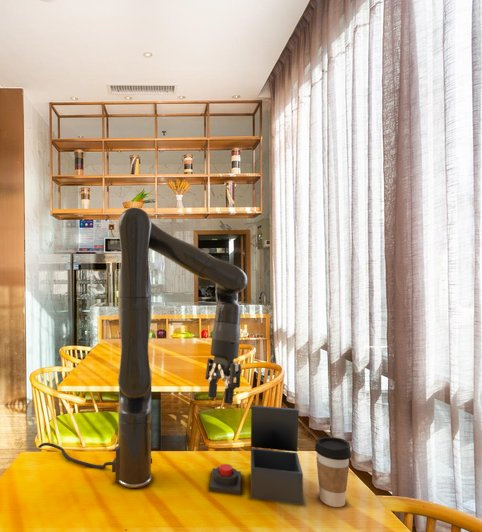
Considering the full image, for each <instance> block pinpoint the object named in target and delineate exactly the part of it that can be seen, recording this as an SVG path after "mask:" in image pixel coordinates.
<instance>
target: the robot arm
mask: <svg viewBox="0 0 482 532" xmlns="http://www.w3.org/2000/svg"><path fill="white" fill-rule="evenodd" d="M117 230H118V236H119V245H120V255H121V256H120V268H119V277H118V287H117V288H118V289H117V310H118V311H117V314H118V327H119V337H120V361H119V369H118V370H119V371H118V375H117V384H118V409H117V412H118V413H117V419H118V420H117V427H118V428H117V445H116V447H115V457H114V459H113V460H112V461H105V462H104V463H103V464H95V463H94V464H93V463H89V462H86V461H83V460H80V459H79V460H78V459H76V458H73V457H71V456H70V455H68V454H67V453H66V451H65V449H64V448H63V447H61V446H60V445H57V444H55V443H52V442H41V444H39V445H38V446H37V448H38V449H40V448H42V447H45V446H46V447H48V446H49V447H52V448H55V449H57V450H59V451H60V452H61V453H62V455H63V457H64V458H65V459H67V460H68V461H70V462H72V463H75V464H78V465H81V466H85V467H88V468H94V469H100V470H101V469H105V468H106V467H107V466H111V473H115V483H116V484H118V485H120V486H122V487H125V488H128V489H138V488H139V489H140V488H143V487H146V486H147V485H149V484H150V483H151V482H152V464H153V457H152V407H153V406H152V403H153V402H152V384H153V383H152V381H153V377H152V368H151V366H150V357H149V341H150V332H151V324H152V310H153V309H152V306H153V305H152V303H153V302H152V282H151V281H152V280H151V272H150V265H149V263H150V262H149V251H150V250H152V251H153V252H156V253H157V254H160V255H161V256H163V257H165V258H166V259H168V260H170V261H171V262H173V263H175V264H176V265H178V266H179V267H181V268H183V269H184V270H186V271H188V272H190V273H192V274H193V275H194V276H197V277H198V278H200V279H203V280H207V281H211V282H213V283H215V303H216V307H215V315H214V323H213V327H212V335H211V344H210V355H211V356H213V358H210V357H209V358H207V361H206V369H205V376H204V377H205V380H207V383H209V384H208V393H207V396H208V398H211V399H212V398H217V394H218V393H217V391H218V382H219V380H220V379H221V380H222V382H224V387H225V388H224V395H223V403H224V404H226V405H232V404H233V402H234V393H235V390H236V389H239V388H240V387H241V374H242V373H241V372H242V371H241V370H242V365H241V364H240V363H235V360H236V359H238V358H239V352H240V351H239V350H240V340H241V319H242V318H241V317H242V307H241V305H240V304H239V293H241V292H243V290H245V288H246V287H247V285H248V276H247V274H246V273H245V272H244V270H242V269H241V268H240V267H238V266H237V265H235V264H233V263H230V262H227V261H225V260H222V259H218V258H217V257H214V256H212V254H210V253H208V252H206V251H204V250H202V249H201V248H199V247H197V246H195V245H193V244H192V243H189V242H187V241H184V240H182V239H180V238H177V237H175V236H174V235H171V234H169V233H167V232H166V231H165V230H162V229H161V228H160V227H159V226H157V225H156V224H155V223H154V222H152V220H151V217H150V215H149V214H148V212H146V211H145V209H142V208H140V207H135V206H134V207H129V208H127V209H125V210H124V211H123V212H122V213H121V214H120V216H119V217H118V221H117Z"/></svg>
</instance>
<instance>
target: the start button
mask: <svg viewBox="0 0 482 532" xmlns="http://www.w3.org/2000/svg"><path fill="white" fill-rule="evenodd" d="M218 467H219V473H220V475H223V476H232V474H233V468H234V467H233V466H232V465H231V464H228V463H222V464H220V465H219V466H218Z"/></svg>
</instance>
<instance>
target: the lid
mask: <svg viewBox="0 0 482 532" xmlns="http://www.w3.org/2000/svg"><path fill="white" fill-rule="evenodd" d="M250 409H251V410H250V447H251V448H256V449H266V450H276V451H285V452H295V453H298V442H299V415H300V414H299V413H300V412H299V411H300V410H299V408H290V407H279V406H278V407H276V406H265V405H264V406H263V405H253V404H251V405H250Z"/></svg>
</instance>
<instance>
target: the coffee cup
mask: <svg viewBox="0 0 482 532" xmlns="http://www.w3.org/2000/svg"><path fill="white" fill-rule="evenodd" d="M314 451H315V452H316V468H317V479H318V480H317V481H318V490H319V499H320V502H322V503H323V504H324V505H327V506H329V507H332V508H341V507H344V506H345V504H346V495H347V486H348V480H349V469H350V459H351V457H352V451H351V444H350V442H349V441H347V440H346V439H344V438H341V437H331V436H326V437H325V436H324V437H319V438H317V440H316V442H315V445H314Z"/></svg>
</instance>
